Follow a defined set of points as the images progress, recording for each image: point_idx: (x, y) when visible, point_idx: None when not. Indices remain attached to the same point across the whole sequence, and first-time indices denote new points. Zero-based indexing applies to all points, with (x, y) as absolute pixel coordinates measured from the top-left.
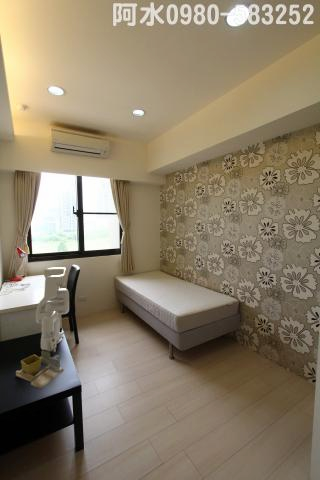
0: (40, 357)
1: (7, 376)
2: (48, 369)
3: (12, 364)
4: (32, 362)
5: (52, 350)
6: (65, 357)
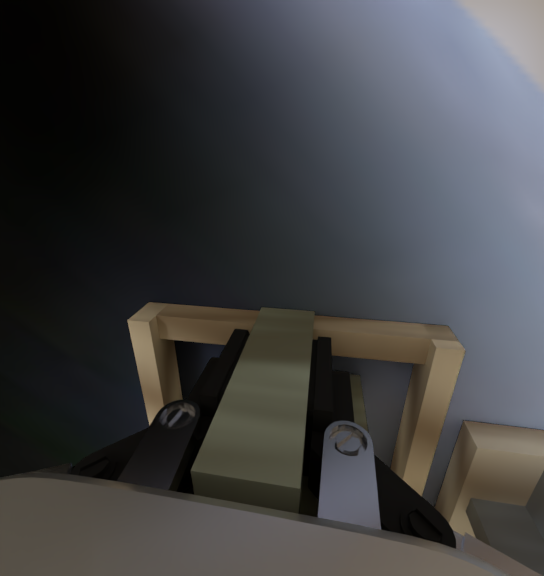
0: (144, 364)
1: None
2: (457, 514)
3: (11, 451)
4: None
5: (374, 520)
6: (519, 156)
